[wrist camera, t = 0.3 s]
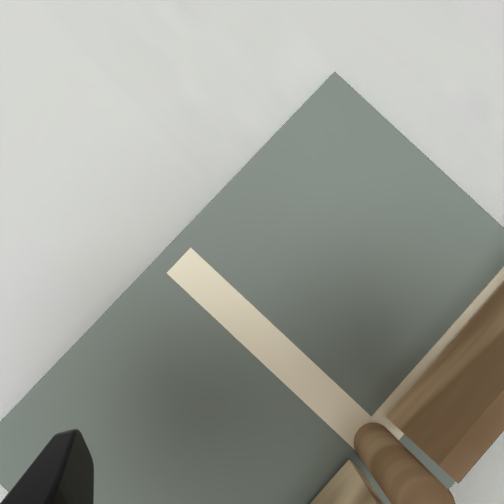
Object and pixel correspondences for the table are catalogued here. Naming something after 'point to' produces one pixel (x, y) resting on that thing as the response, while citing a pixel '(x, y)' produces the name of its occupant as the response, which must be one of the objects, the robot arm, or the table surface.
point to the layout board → (274, 322)
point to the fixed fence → (443, 414)
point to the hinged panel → (348, 488)
